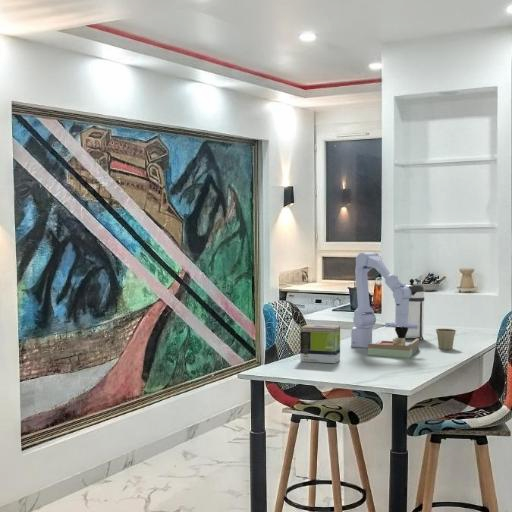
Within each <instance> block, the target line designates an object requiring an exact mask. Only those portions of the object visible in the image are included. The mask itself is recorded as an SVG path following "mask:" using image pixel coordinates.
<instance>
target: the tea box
mask: <svg viewBox="0 0 512 512" xmlns="http://www.w3.org/2000/svg"><path fill="white" fill-rule="evenodd" d="M299 330H300V333H299V334H300V340H299V341H300V342H299V343H300V345H299V346H300V348H299V351H300V355H299V356H300V358H299V360H300V362H305V363H307V362H308V363H323V364H337V363H338V362H339V361H340V360H341V326H340V325H330V324H329V325H326V324H325V325H324V324H305V325H302V326H301V327H300V329H299Z"/></svg>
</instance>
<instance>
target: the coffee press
mask: <svg viewBox="0 0 512 512" xmlns="http://www.w3.org/2000/svg"><path fill="white" fill-rule="evenodd" d="M414 282H415V280H414V279H413V278H410V279H409V283H403V284H404V285H405V286H408V287H409V288H410V289H411V292H412V295H411V297H410V298H409V314H408V323H409V324H419V327H418V329H410V328H408V331H407V333H406V336H405V338H415V339H419V341H420V340H421V341H424V336H423V335H424V315H425V314H424V313H425V312H424V309H425V292H426V289H425V288H424V286H423V285H422V284H419V283H418V284H417V283H414ZM398 327H406V326H398Z"/></svg>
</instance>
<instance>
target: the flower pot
mask: <svg viewBox="0 0 512 512" xmlns="http://www.w3.org/2000/svg"><path fill="white" fill-rule="evenodd" d="M435 332H436V334H437V344H438V349H441V350H452V349H453V347H454V340H455V335H456V332H457V329H453V328H436V329H435Z"/></svg>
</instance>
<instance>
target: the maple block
mask: <svg viewBox="0 0 512 512" xmlns="http://www.w3.org/2000/svg"><path fill="white" fill-rule="evenodd" d="M392 341H393V345H404V346H405V342H406V337H405V338H398V337H394V338H392Z"/></svg>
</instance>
